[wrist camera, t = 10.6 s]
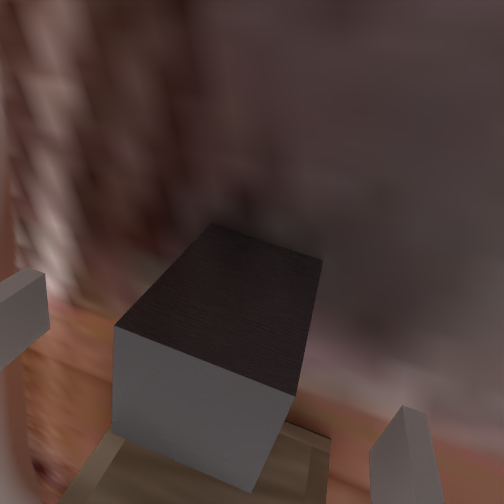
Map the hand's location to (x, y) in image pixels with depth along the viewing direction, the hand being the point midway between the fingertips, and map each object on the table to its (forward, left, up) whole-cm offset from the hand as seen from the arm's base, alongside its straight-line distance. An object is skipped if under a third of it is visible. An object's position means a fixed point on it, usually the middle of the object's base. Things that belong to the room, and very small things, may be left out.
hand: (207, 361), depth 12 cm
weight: (0, 0, -5) cm, 5 cm away
